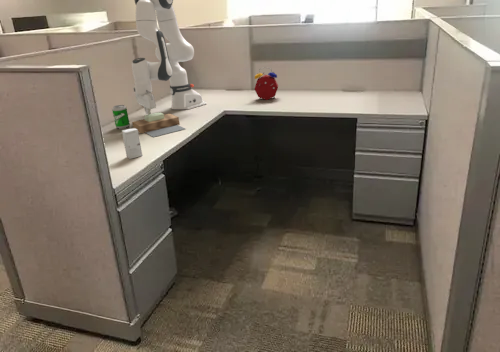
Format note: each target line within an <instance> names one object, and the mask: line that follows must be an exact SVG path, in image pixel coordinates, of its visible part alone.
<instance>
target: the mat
mask: <svg viewBox="0 0 500 352" xmlns="http://www.w3.org/2000/svg"><path fill="white" fill-rule="evenodd" d="M184 130H186V128H185V127H183V126H180V124H179V125H173V126H169V127H165V128H161V129H157V130H153V131H149V132H145V133H144V134H146V133H147V135H148V136H150V137H151V138H156V137H160V136H164V135H168V134H173V133H176V132H180V131H184Z"/></svg>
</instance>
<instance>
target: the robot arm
mask: <svg viewBox="0 0 500 352" xmlns="http://www.w3.org/2000/svg"><path fill="white" fill-rule="evenodd" d="M134 3H135V26H136V31H137V33H138V35H139V36H140V37H142V38H143V39H145V40H148V41H150V42H152V43H153V44H154V45H155V51H154V54H155V57H156V59H157V60H158V61H156V62H155V61H154V62H153V61H148V60H147V59H146V58H145V57H137V58H135V59H134V58H133V60H132V61H131V72H132V77H133V80H134V87H133V88H132V90H133V92H134V96H135V99H136V103H137V104H138V105H140V106H143V109H144V111H145V114H146V115H149V114H152V113H151V111H152V110H153V109H157V103H156V99H155V95H154V94H153V93H152V92H153V91H154V90H153V85H152V81H164V82H167V81H169V91H170V95H171V106H170V108H171V109H172V110H191V109H194V108H198V107H200V106H201V107H202V106H204V105H207V101H206V100H203V97H202V95H201V93H199V92H198V91H196V90H194V89H193V88H194V87H195V84H193V83H189V80H188V74H187V70H186V69H185V68H184V67H182V66H181V65H180V64H179V63H180V62H181V63H182V62H183V63H184V62H187V61H192V59H193V58H194V56H195V49H194V46H193V45H192V44H191V43H190V42H188V40H186V39H185V38H184V36H183V35H182V32H181V30H180V27H179V23H178V19H177V15H176V12H175V11H176V10H175V8H174V6H173V3H174V0H134ZM166 40H167V41H168V42H167V43H166Z"/></svg>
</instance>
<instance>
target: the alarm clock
mask: <svg viewBox="0 0 500 352" xmlns="http://www.w3.org/2000/svg"><path fill="white" fill-rule="evenodd" d="M263 69H269V70H270V72H269V73H268V74H265V72H261V71H260V70H263ZM277 78H278V75H277V74H276V73H275V71H272V68H271V67H267V66H263V67H261V68H258V72H256V74H255V75H254V80H256V83H255V86H254V91H255V93H256V96H257V97H258V99H259V100H261V99H263V100H266V101H268V100H270V99H272V98H273V99H276V94H277V91H278V89H279V88H278V87H279V84H278V82H277V80H276V79H277Z"/></svg>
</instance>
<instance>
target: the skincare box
mask: <svg viewBox="0 0 500 352" xmlns="http://www.w3.org/2000/svg"><path fill="white" fill-rule="evenodd" d="M139 134H140V133H139V132H138V130H137V129H136V128H133V127H132V128H128V129H127V128H126V129H122V130H121V135H122V139H123V145H124V149H125V154H126V157H127V158H128V159H129V160H132V159H135V158H138V157H142V156H143V151H142V146H141V140H140V135H139Z"/></svg>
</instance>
